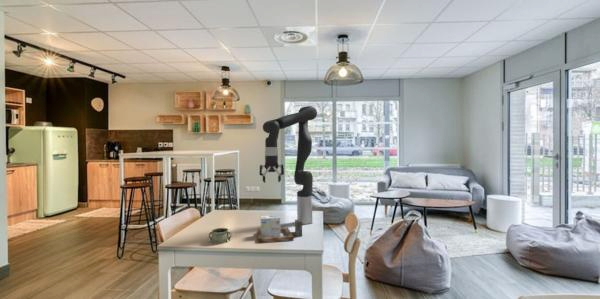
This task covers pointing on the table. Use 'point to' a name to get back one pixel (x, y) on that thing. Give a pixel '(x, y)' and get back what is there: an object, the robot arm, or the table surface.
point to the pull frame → (282, 238)
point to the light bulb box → (270, 226)
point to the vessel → (220, 235)
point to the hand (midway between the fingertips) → (271, 182)
